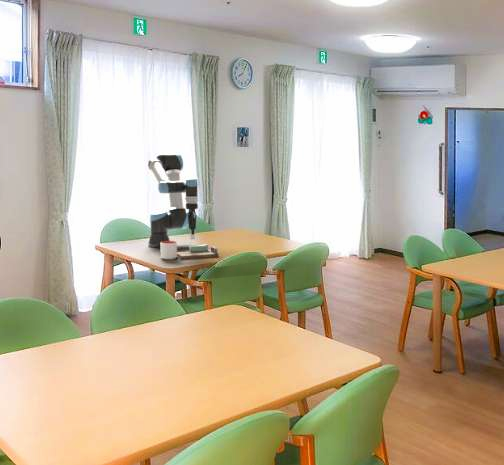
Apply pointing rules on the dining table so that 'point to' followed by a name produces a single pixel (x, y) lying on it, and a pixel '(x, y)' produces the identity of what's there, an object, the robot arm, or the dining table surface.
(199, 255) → the brown tray
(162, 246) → the cup
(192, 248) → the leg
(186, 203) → the robot arm
